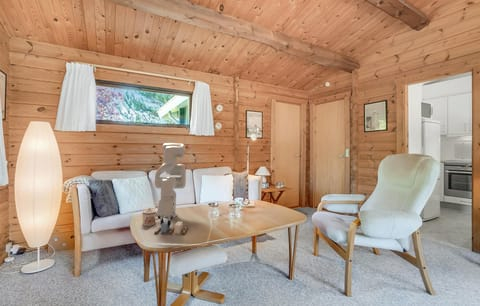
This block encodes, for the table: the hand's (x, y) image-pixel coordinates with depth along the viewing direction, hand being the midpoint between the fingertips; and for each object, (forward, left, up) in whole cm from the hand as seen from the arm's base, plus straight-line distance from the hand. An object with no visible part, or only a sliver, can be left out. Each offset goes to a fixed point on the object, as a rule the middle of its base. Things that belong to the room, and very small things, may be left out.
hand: (165, 226), depth 154 cm
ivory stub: (0, +8, -3) cm, 9 cm away
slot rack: (0, +4, -4) cm, 6 cm away
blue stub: (0, 0, -3) cm, 3 cm away
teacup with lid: (-17, -15, -4) cm, 23 cm away
